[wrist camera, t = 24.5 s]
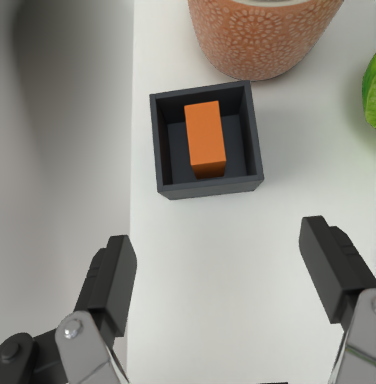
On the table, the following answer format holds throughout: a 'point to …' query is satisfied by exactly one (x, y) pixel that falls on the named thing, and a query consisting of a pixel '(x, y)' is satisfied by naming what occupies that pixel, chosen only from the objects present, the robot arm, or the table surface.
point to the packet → (205, 140)
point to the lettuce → (370, 92)
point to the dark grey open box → (232, 136)
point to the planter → (259, 33)
